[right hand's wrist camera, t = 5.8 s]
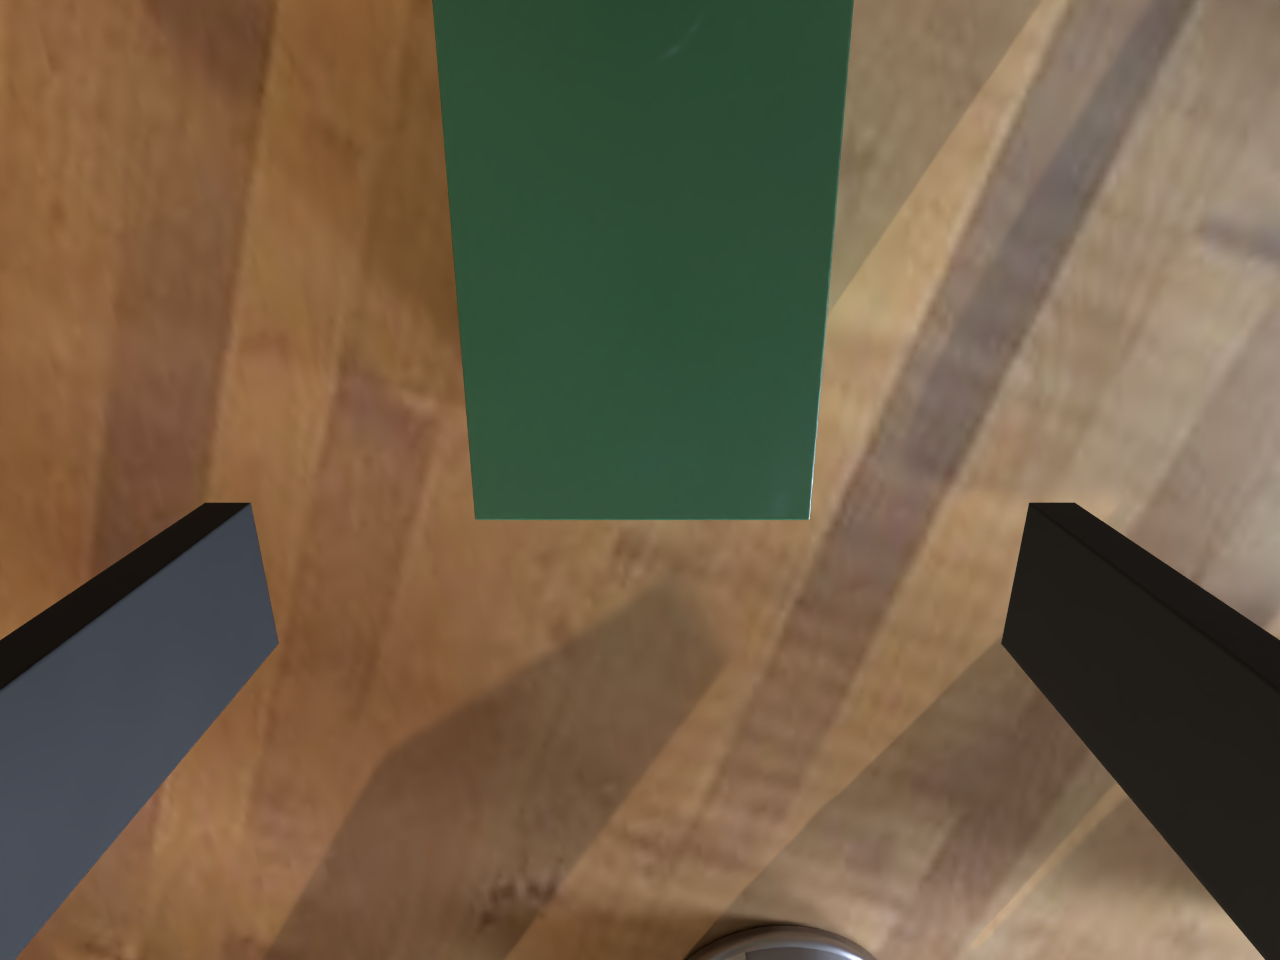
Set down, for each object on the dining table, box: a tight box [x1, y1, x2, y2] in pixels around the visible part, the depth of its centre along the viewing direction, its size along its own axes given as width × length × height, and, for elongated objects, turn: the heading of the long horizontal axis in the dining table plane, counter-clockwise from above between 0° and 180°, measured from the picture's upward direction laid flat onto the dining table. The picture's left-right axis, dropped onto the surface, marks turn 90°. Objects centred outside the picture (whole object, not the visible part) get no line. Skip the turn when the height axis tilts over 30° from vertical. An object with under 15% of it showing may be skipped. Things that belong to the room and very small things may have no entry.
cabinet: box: [432, 0, 854, 520], centre depth 26 cm, size 17×11×12 cm, turn 0°
